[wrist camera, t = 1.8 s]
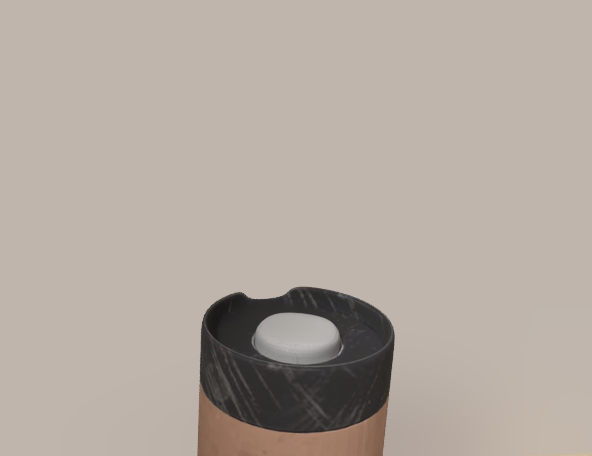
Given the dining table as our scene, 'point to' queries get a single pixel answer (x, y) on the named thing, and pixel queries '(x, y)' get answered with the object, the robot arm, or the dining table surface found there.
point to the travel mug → (294, 376)
